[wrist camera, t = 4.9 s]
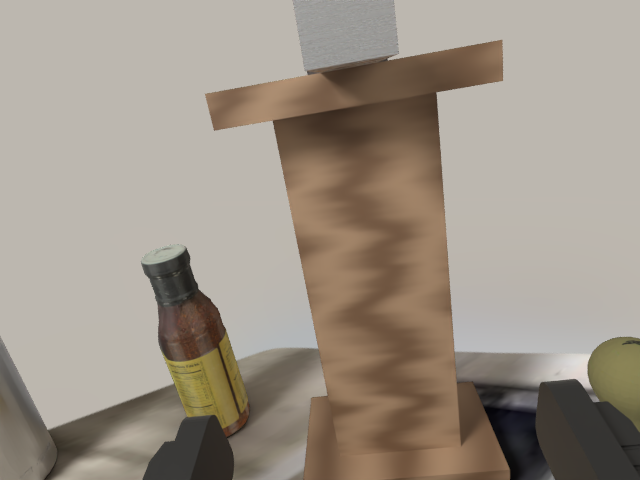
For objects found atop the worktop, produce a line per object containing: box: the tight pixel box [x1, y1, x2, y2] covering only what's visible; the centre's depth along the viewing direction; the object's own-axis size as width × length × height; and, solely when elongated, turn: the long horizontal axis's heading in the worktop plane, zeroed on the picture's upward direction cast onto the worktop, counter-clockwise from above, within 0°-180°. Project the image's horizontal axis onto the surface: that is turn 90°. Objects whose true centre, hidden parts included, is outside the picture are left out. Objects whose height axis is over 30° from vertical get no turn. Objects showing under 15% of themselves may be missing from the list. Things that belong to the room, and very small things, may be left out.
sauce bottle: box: [141, 244, 250, 438], centre depth 42 cm, size 6×6×20 cm
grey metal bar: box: [293, 0, 399, 75], centre depth 22 cm, size 5×20×4 cm, turn 177°
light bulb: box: [588, 337, 640, 432], centre depth 33 cm, size 6×6×10 cm
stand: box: [205, 40, 510, 480], centre depth 33 cm, size 16×10×32 cm, turn 87°
